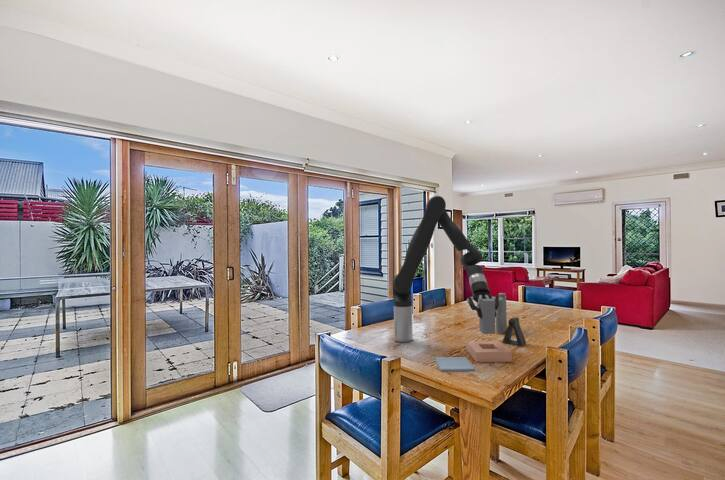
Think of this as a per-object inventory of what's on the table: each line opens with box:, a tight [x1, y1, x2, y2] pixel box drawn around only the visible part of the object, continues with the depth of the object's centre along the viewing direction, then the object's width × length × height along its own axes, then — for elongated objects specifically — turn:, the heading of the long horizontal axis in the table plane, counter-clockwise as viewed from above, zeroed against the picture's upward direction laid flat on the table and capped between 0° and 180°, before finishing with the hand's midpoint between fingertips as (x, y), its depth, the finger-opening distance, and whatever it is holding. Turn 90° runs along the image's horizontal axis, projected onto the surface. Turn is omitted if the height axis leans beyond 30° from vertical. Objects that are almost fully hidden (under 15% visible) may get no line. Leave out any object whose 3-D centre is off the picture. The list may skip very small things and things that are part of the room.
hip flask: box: [495, 292, 508, 335], centre depth 186 cm, size 16×4×20 cm, turn 149°
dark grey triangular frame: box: [502, 316, 527, 347], centre depth 164 cm, size 9×6×12 cm, turn 48°
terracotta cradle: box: [466, 340, 513, 363], centre depth 147 cm, size 14×14×4 cm
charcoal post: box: [478, 299, 496, 335], centre depth 147 cm, size 5×5×14 cm
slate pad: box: [434, 356, 476, 372], centre depth 138 cm, size 13×13×1 cm
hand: (487, 317), depth 146 cm, fingers closed on charcoal post, 5 cm apart
